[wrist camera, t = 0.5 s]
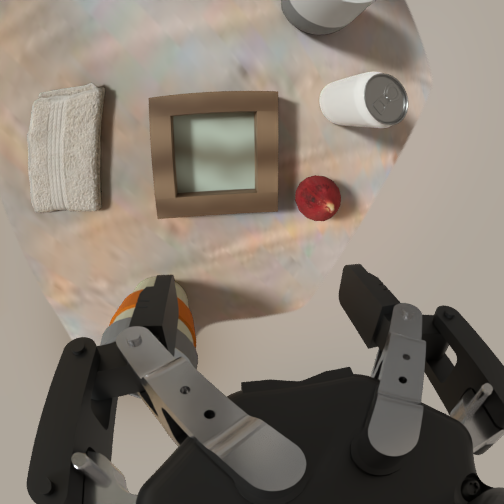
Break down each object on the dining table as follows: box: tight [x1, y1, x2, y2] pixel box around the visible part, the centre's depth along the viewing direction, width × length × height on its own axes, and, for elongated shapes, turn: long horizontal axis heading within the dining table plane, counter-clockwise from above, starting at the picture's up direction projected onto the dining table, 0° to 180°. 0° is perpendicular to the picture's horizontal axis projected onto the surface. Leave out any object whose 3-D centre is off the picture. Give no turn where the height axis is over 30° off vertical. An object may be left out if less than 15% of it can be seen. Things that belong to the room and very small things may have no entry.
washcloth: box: [27, 83, 105, 213], centre depth 30 cm, size 12×18×3 cm, turn 174°
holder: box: [149, 91, 278, 219], centre depth 33 cm, size 15×15×4 cm
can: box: [319, 72, 408, 128], centre depth 28 cm, size 6×6×12 cm
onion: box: [295, 175, 341, 221], centre depth 35 cm, size 6×6×8 cm
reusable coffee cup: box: [100, 277, 198, 398], centre depth 36 cm, size 12×13×15 cm
